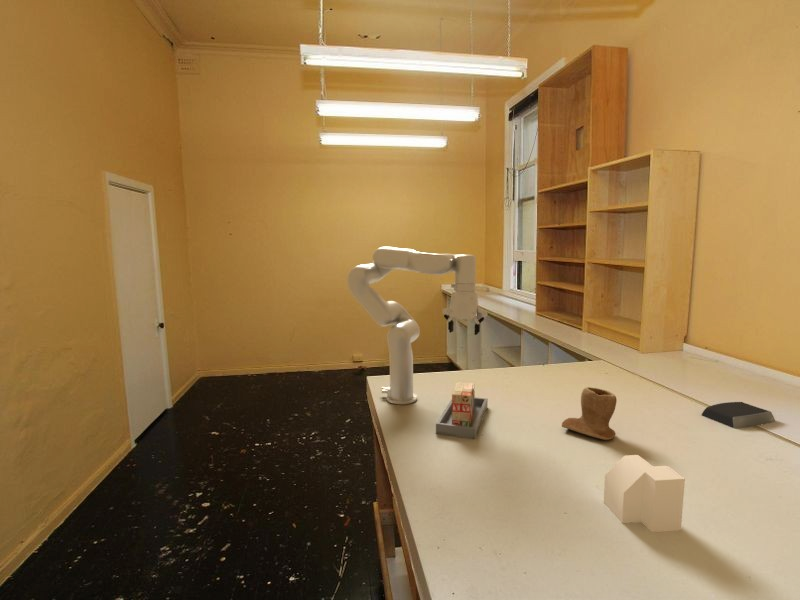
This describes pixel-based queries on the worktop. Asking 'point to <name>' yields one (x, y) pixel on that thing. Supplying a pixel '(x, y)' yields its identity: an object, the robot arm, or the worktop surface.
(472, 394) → the stack of blocks
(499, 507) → the worktop surface
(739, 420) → the external hard drive
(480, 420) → the tray
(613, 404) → the brown suede boot
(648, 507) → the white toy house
